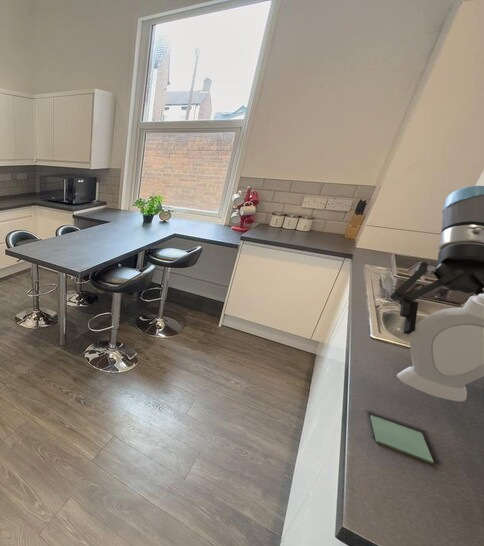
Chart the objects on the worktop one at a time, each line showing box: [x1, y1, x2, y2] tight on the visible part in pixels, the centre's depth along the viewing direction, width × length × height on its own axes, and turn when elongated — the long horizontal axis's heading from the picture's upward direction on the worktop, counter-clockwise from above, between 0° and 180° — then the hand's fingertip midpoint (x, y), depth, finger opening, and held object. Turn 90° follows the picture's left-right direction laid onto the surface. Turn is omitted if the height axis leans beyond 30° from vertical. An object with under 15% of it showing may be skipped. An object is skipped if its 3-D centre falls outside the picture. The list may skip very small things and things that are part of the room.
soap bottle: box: [396, 294, 484, 402], centre depth 60 cm, size 13×8×24 cm, turn 50°
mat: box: [369, 415, 435, 465], centre depth 71 cm, size 9×9×1 cm
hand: (457, 343), depth 60 cm, fingers closed on soap bottle, 13 cm apart
